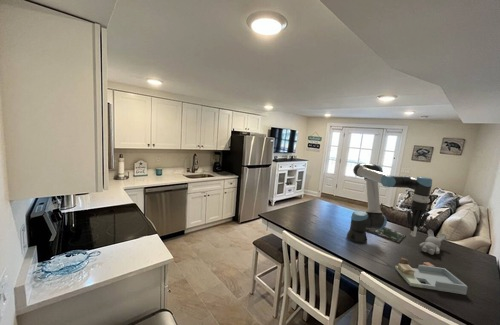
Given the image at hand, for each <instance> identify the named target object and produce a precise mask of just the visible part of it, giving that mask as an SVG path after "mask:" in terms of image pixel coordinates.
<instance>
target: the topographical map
mask: <svg viewBox="0 0 500 325" xmlns="http://www.w3.org/2000/svg"><path fill="white" fill-rule="evenodd" d="M366 233H369V234H373V236H374V235H375V236H376V237H380V238H383V239H386V240H388V241H391V242H394V243H397V244H400V243H402V241H403V240H404V239H405V238H406V237H407V234H404V233H402V232H399V231H396V230H393V229H392V228H388V227H386V226H385V227H384V228H382V229H368V228H367V229H366Z"/></svg>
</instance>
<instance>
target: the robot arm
mask: <svg viewBox="0 0 500 325" xmlns="http://www.w3.org/2000/svg"><path fill="white" fill-rule="evenodd" d="M353 174H354V175H355V176H357V177H359V178H363V179H364V181H365V182H366V196H367V197H366V198H367V210H366V211H362V210H356V211H353V212H352V213H351V216H350V218H351V219H350V225H349V230H348V232H347V234H346V239H347V240H348V241H350V242H352V243H354V244H357V245H359V244H360V245H366V244H367V242H368V236H367V232H366V229H367V228H368V229H382V228H384V227H386V226H387V224H388V223H387V222H388V221H387V220H388V219H387V217H386V215H384V214H383V211H382V210H381V206H380V205H381V204H380V203H381V202H380V191H379V184H381V185H382V186H383V187H387V188H404V189H411V190H414V192H413V196H412V200H411V201H412V202H411V206H410V208H409V209H405V212H406V216H407V218H406V219H407V224H408V225H409V226H410V229H409V230H410V236H411V237H414V238H415V237H417V233H418V232H419V229H420V228H422V227H424V225H425V223H426V221H427V219H428V217H429V216H430V215H431V213H429V212H428V211H427V209H428V203H429V198H430V194H431V189H432V187H433V179H432V178H431V177H426V176H417V177H412V176H409V175H398V176H397V175H391V174H388V173H385V172H383V168H382V167H381V166H380V165H379V164H375V163H358V164H355V165H354V167H353Z"/></svg>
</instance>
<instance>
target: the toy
mask: <svg viewBox="0 0 500 325" xmlns="http://www.w3.org/2000/svg"><path fill="white" fill-rule="evenodd" d="M446 239H447V234H446V233H442V234H440V235H439V236H438V237H436V236H435V235H434V231H433V230H432V229H428V230H427V238H425V241H424V242H421V243H419V245H418V247H419V248H421V250H422V252H424V253H428V254H430V255H431V256H432V255H434V254H437V255H439V254H440V253H441V252H440V251H441V250H440V247H441V246H442V243H441V242H442V241H444V240H446Z"/></svg>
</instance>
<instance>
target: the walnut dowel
mask: <svg viewBox="0 0 500 325" xmlns="http://www.w3.org/2000/svg"><path fill="white" fill-rule="evenodd" d="M399 261H400V262H399V264H407V265H409V260H408V259H407V258H405V257H400V260H399Z"/></svg>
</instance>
